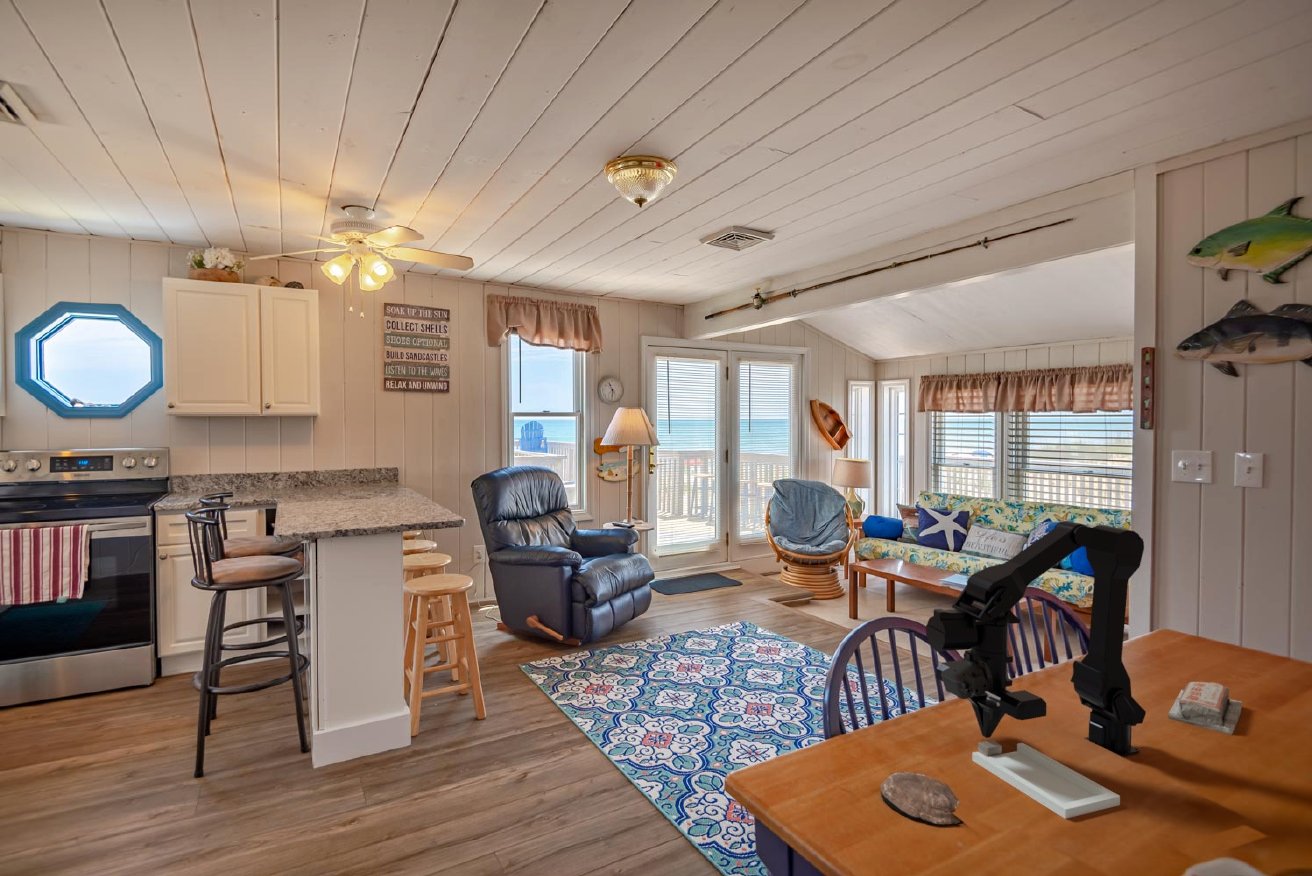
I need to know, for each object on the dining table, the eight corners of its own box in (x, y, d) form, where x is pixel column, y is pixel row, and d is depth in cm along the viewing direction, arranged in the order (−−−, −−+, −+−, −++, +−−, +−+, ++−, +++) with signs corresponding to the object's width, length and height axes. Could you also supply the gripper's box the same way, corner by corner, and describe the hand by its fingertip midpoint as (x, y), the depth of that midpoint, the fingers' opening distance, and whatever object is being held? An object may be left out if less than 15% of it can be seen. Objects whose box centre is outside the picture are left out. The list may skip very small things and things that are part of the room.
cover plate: (968, 736, 123) (968, 718, 123) (1011, 763, 114) (1012, 743, 114) (934, 741, 121) (935, 723, 121) (976, 769, 111) (976, 750, 111)
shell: (923, 837, 93) (924, 812, 93) (864, 790, 105) (864, 767, 104) (985, 820, 97) (985, 796, 97) (921, 776, 109) (921, 755, 109)
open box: (1021, 758, 114) (1022, 742, 114) (1119, 814, 98) (1120, 796, 98) (972, 769, 111) (972, 752, 111) (1064, 828, 95) (1065, 809, 94)
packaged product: (1234, 712, 124) (1168, 696, 131) (1233, 738, 124) (1167, 720, 131) (1243, 686, 136) (1181, 672, 143) (1242, 709, 136) (1181, 694, 144)
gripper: (913, 635, 120) (911, 719, 121) (996, 672, 103) (994, 771, 103) (961, 629, 124) (959, 711, 124) (1050, 664, 106) (1047, 760, 107)
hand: (986, 736), depth 115 cm, fingers closed
